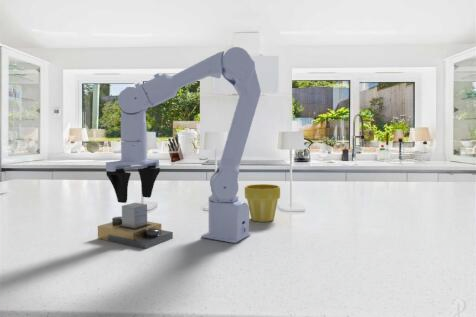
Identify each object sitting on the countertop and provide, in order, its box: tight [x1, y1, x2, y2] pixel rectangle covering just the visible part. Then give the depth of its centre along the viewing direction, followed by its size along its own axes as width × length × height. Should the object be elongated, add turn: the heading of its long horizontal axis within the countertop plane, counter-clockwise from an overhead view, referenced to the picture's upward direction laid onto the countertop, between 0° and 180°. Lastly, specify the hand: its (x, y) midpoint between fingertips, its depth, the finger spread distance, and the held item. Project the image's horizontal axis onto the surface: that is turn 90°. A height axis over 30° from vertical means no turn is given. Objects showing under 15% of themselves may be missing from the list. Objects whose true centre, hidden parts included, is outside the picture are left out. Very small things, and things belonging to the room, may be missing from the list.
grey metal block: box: [121, 202, 148, 230], centre depth 80 cm, size 4×4×8 cm
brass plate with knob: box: [97, 216, 174, 250], centre depth 80 cm, size 15×9×4 cm, turn 61°
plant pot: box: [244, 183, 281, 223], centre depth 99 cm, size 10×10×10 cm
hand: (135, 199), depth 79 cm, fingers open, 7 cm apart
